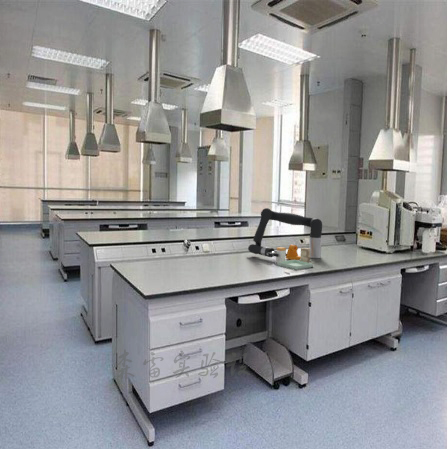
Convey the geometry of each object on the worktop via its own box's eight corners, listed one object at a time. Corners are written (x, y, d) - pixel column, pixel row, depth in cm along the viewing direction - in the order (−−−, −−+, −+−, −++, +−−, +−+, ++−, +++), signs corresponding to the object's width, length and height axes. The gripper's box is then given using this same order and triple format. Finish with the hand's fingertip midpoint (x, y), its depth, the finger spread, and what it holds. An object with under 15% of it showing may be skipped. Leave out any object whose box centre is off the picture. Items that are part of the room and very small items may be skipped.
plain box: (304, 263, 288) (305, 247, 286) (309, 264, 284) (310, 248, 283) (300, 263, 285) (300, 248, 284) (305, 264, 281) (305, 249, 280)
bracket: (291, 260, 296) (291, 246, 295) (285, 259, 302) (286, 244, 301) (301, 259, 301) (302, 245, 299) (296, 258, 307) (296, 244, 306)
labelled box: (280, 262, 289) (281, 247, 288) (285, 263, 285) (285, 247, 284) (276, 262, 286) (276, 247, 285) (280, 264, 282) (281, 248, 281)
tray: (294, 263, 286) (294, 259, 286) (312, 267, 272) (313, 263, 271) (278, 265, 275) (278, 261, 275) (296, 270, 261) (296, 266, 261)
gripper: (261, 248, 292) (275, 250, 279) (274, 246, 301) (288, 249, 288) (261, 257, 293) (275, 260, 280) (274, 255, 301) (288, 258, 288)
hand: (282, 255), depth 284 cm, fingers open, 8 cm apart
